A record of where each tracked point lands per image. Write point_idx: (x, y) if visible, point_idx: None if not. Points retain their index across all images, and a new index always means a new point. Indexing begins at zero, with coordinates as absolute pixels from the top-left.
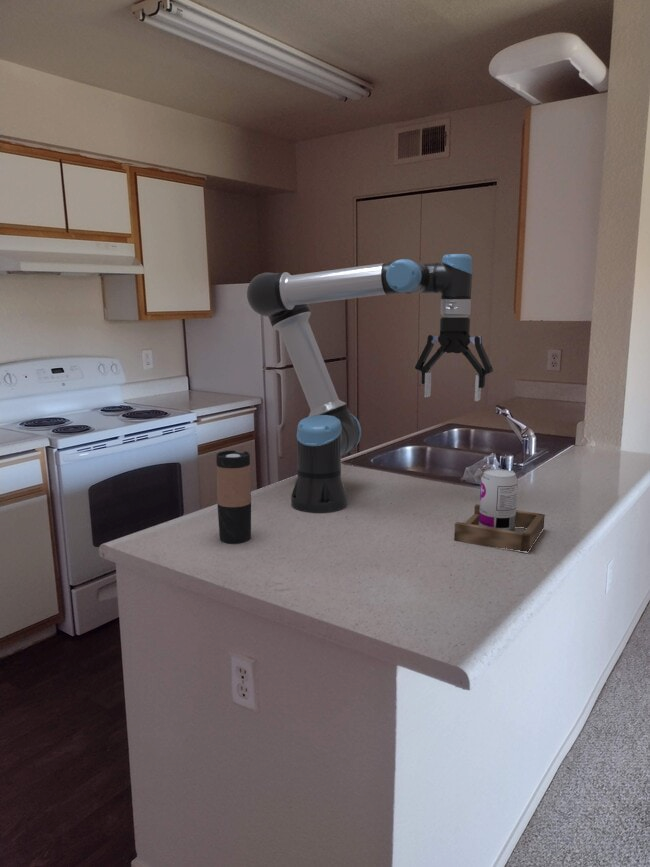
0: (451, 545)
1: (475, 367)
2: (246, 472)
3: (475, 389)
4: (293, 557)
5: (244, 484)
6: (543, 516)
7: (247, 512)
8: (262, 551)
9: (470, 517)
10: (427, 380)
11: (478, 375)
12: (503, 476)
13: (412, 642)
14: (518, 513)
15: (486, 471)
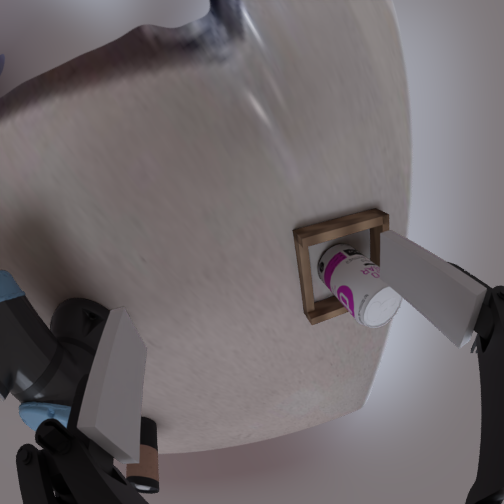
0: (307, 324)
1: (487, 378)
2: (157, 475)
3: (413, 304)
4: (210, 419)
5: (157, 467)
6: (388, 221)
7: (156, 444)
8: (183, 425)
9: (301, 263)
10: (140, 421)
11: (470, 333)
12: (389, 315)
13: (339, 414)
14: (361, 229)
15: (365, 312)
